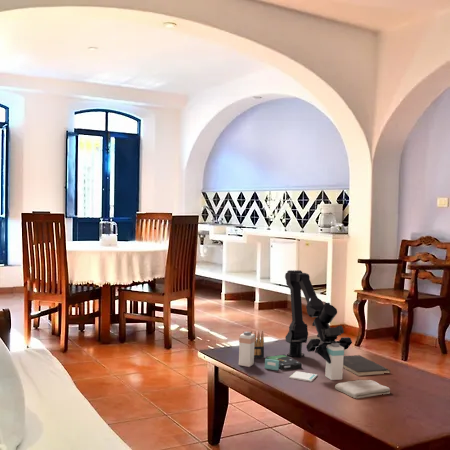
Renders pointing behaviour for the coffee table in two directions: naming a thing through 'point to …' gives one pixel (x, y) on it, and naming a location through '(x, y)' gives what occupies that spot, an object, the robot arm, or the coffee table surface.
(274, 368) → the teal cartridge with label
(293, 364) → the disk drive
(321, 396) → the coffee table surface
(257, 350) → the ammunition clip
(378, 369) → the hardcover book
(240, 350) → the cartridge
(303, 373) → the mat
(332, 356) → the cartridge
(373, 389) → the washcloth
